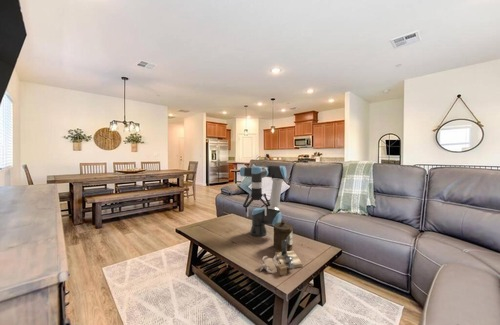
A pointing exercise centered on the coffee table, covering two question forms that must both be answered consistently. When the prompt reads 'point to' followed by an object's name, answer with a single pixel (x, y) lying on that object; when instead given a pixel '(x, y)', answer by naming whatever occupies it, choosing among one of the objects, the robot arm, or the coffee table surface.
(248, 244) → the coffee table surface
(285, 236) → the wooden container
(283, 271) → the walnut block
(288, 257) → the lever
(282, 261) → the board
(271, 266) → the beige animal figurine
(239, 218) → the coffee table surface
